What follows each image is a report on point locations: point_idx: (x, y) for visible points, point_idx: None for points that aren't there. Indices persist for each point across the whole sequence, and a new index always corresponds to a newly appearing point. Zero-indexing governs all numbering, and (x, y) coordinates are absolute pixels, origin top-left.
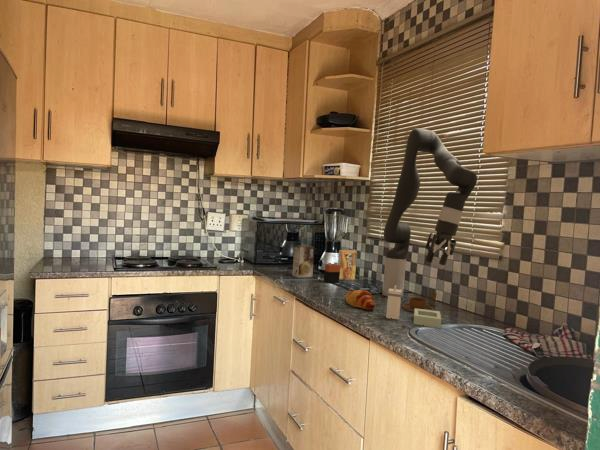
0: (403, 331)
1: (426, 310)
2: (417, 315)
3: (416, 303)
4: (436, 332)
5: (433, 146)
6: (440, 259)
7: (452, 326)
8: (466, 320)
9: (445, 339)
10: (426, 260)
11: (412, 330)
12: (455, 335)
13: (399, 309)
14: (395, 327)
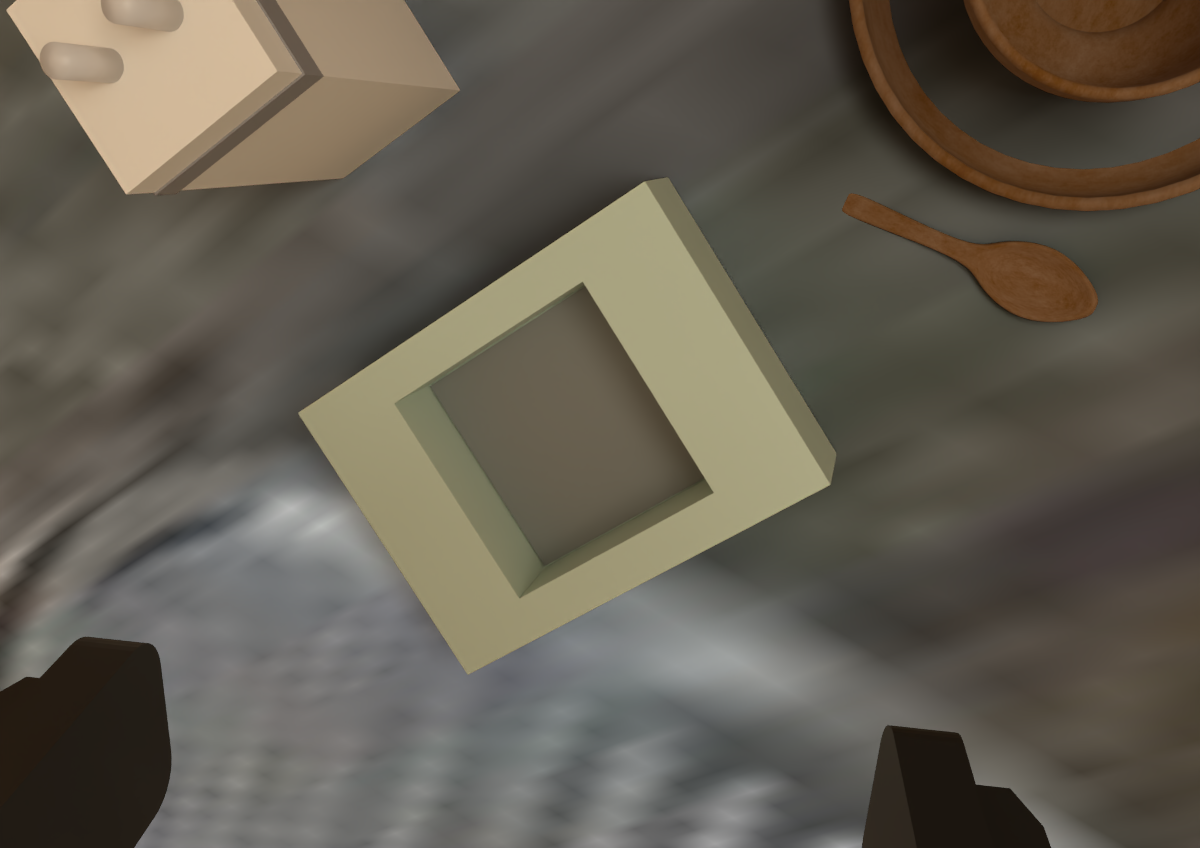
0: (55, 469)
1: (698, 349)
2: (342, 426)
3: (967, 3)
4: (322, 671)
5: None
6: (916, 830)
7: (692, 684)
8: (1177, 686)
9: (219, 805)
10: (87, 655)
11: (157, 502)
12: (410, 821)
13: (277, 180)
14: (78, 350)
